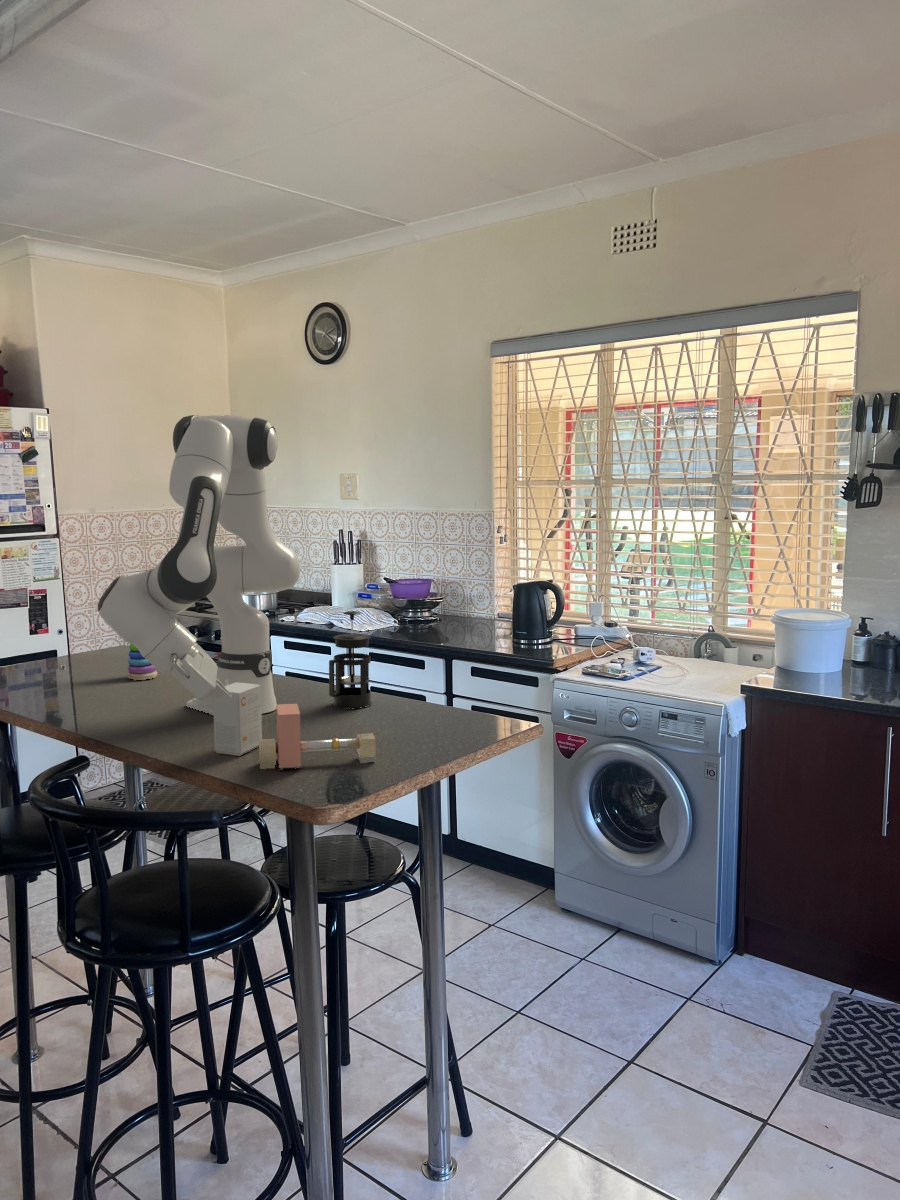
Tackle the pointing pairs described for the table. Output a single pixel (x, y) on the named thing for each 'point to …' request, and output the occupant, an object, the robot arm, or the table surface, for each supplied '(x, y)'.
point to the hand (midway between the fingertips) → (229, 700)
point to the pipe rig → (320, 747)
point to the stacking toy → (139, 666)
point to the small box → (238, 719)
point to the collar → (288, 735)
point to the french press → (352, 695)
